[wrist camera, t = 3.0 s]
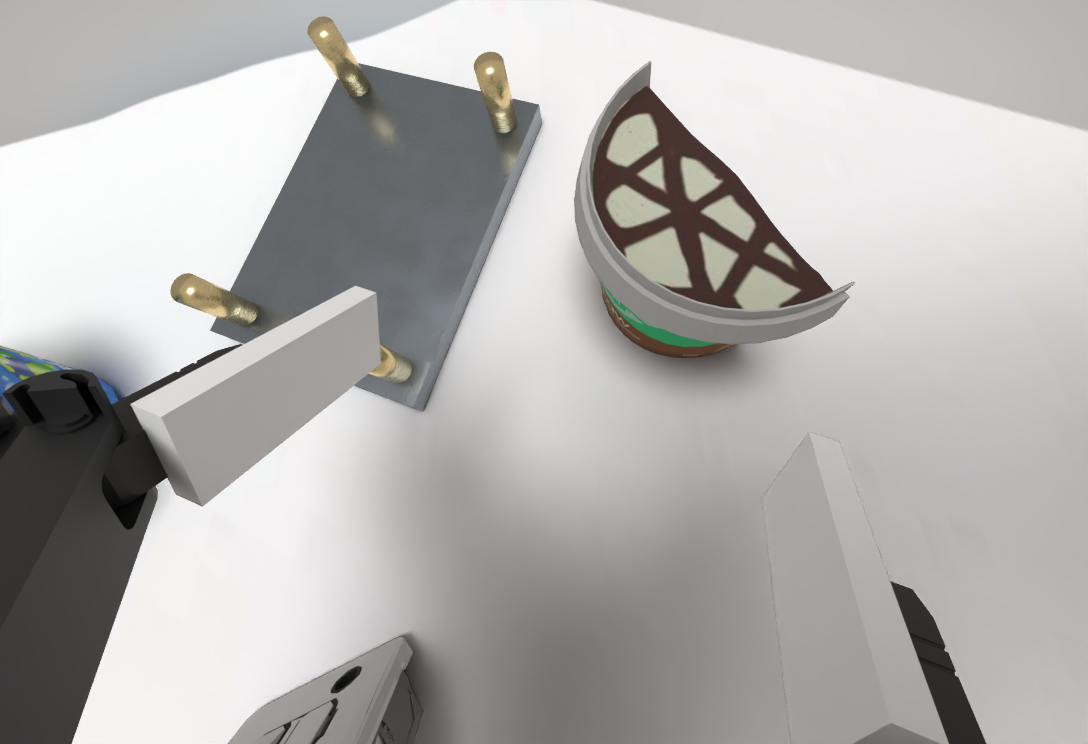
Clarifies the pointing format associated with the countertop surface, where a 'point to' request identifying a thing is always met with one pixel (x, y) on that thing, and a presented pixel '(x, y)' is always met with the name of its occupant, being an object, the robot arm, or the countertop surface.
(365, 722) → the electrical switch
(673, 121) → the food container
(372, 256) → the post plate
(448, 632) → the countertop surface
